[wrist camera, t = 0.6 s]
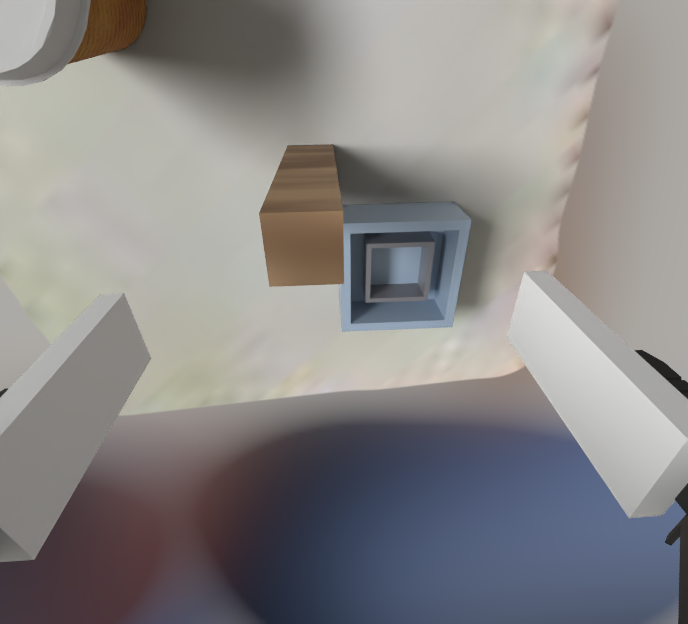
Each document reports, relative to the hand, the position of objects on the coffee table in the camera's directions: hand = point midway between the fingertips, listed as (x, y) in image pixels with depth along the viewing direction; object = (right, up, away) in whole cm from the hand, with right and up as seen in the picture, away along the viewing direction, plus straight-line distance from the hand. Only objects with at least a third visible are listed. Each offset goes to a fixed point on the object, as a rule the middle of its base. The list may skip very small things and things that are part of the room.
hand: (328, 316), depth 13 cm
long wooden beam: (-2, +12, +17) cm, 21 cm away
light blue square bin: (+5, +5, +22) cm, 23 cm away
